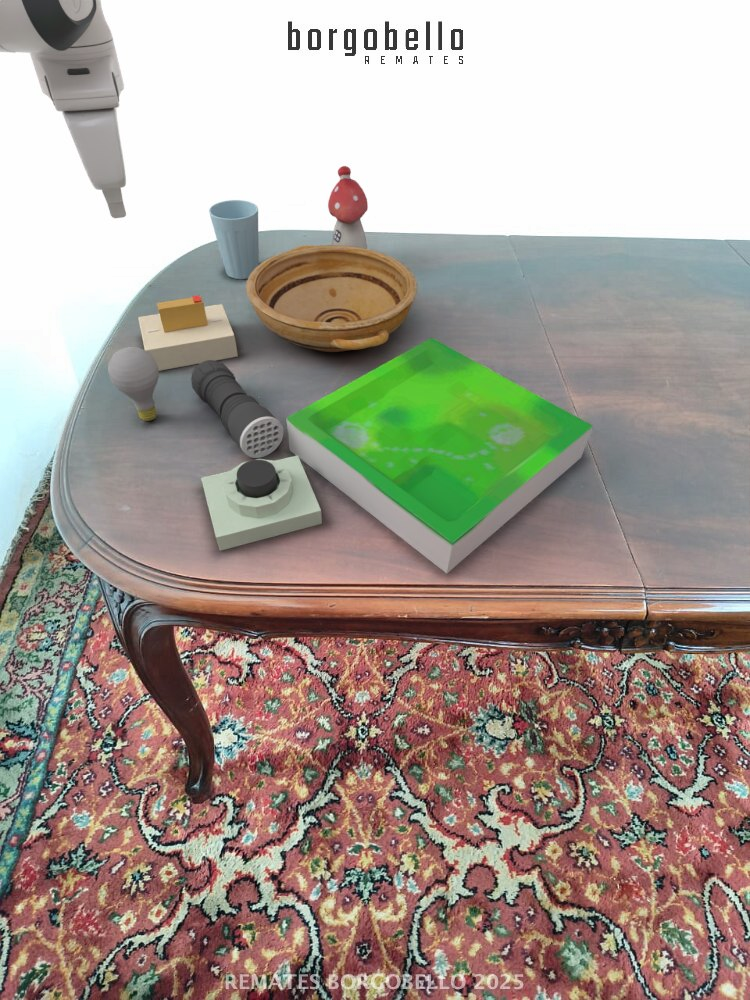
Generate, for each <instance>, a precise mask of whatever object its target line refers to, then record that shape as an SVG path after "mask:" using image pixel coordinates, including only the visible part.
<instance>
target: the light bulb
mask: <svg viewBox="0 0 750 1000" xmlns="http://www.w3.org/2000/svg"><path fill="white" fill-rule="evenodd" d="M107 372H108V376H109V378H110V381H111V383H112V384H113V386H114V387H115V388H116V389H118V390H119V391H120V392H121V393H123V394H124V395H125V396H127V397H128V398H129V399H131V400H132V402H133V404H134V407H135V409H136V410H137V414H138V416H139V417H138V418H139V419H140V420H142V421H144V422H150V421H152V420H153V421H154V419H156V418H157V415H158V413H157V410H156V406H155V400H154V393H155V389H156V387H157V384H158V382H159V379H160V378H159V377H160V371H159V369H158V366H157V363H156V361H155V360H154V358H153V357H152V356H151V355H150V354H149V353H148V352H147V351H145V349H143V348H140V347H135V346H127V347H122V348H121V349H118V350H116V351H115V352H114V353H113V355H112V356H111V358H110V359H109V362H108V371H107Z"/></svg>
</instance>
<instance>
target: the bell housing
mask: <svg viewBox="0 0 750 1000" xmlns="http://www.w3.org/2000/svg"><path fill="white" fill-rule="evenodd" d="M255 460H265V461H268V462H270V463H271V464H272V465H273V466H274V467H275V470H276V477H277V487H276V489H275V490H274V491H273V492H272V493H271V494H269V495H267V496H265V497H260V498H251V497H248V496H245V495H244V494H243V493H242V492H241V491H240V489H239V485H238V480H237V471H238V469H239V467H240V466H241V465H243V464H244V463H246V462H248V461H249V460H248V461H243V462H240V464H238V465H237V466H235V467H234V468H232V469H230V470H227V471H224V472H219V473H216V474H211V475H207V476H202V477H201V478H200V480H201V483H202V488H203V492H204V496H205V500H206V504H207V508H208V511H209V515H210V519H211V524H212V527H213V533H214V535H215V539H216V544H217V547H218V550H219V552H220V551H224V550H229V549H233V548H236V547H240V546H244V545H248V544H251V543H254V542H259V541H262V540H266V539H270V538H274V537H277V536H282V535H285V534H288V533H292V532H296V531H300V530H304V529H307V528H312V527H315V526H319V525H322V524H323V517H322V516H323V515H322V509H321V506H320V504H319V502H318V499H317V497H316V494H315V492H314V490H313V487H312V484H311V482H310V480H309V478H308V476H307V473H306V471H305V469H304V466H303V464H302V460H301V459H300V458H299V456H298V455H297V456H296V455H293V456H289V457H284V458H280V459H276V460H271V459H264V458H255Z"/></svg>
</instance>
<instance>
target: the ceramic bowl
mask: <svg viewBox="0 0 750 1000" xmlns="http://www.w3.org/2000/svg"><path fill="white" fill-rule="evenodd" d="M245 291H246V295H247V298H248V299H249V301H250V302H251V305H252V308H253V310H254V312H255V313H256V315H257V317H258V318H259V320H260V321H261V322H262V324H263V325H264V326H265V327H266V328H267V329H269V330H270V331H271V332H272V333H273V334H275V336H277V337H279V338H281V339H283V340H284V341H286V342H288V343H291V344H293V345H297V346H301V347H303V348H307V349H312V350H316V351H320V352H326V353H327V352H328V353H340V352H341V353H342V352H346V351H354V350H355V351H358V350H363V349H367V348H373V347H378V346H381V345H383V344H385V343H386V342H387V341H388V340H389V335H391V334H392V333H393V332H394V331H395V330H397V329H398V328H399V327H400V326H401V325H402V323H404V321H405V319H406V318H407V317H408V315H409V313H410V310H411V309H412V308H411V307H412V305H413V302H414V301H415V299H416V296H417V294H418V282H417V278H416V276H415V275H414V274H413V272H412V271H411V270H410V268H408V266H406V265H405V264H404V263H403V262H401V261H400V260H397V259H396V258H395V257H392V256H390V255H388V254H385V253H382V252H380V251H376V250H373V249H369V248H367V249H365V248H360V247H352V246H341V245H332V244H325V245H309V244H308V245H307V244H306V245H304V244H303V245H299V246H296V247H294V248H292V249H290V250H286V251H284V252H280V253H278V254H276V255H273V256H271V257H269V258H268V259H266V260H264V261H262V262H261V263H260V264H259V266H257V267H256V268H255V269H254V270H253V272H252V273H251V274H250V275H249V278H248V279H246V283H245Z"/></svg>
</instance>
